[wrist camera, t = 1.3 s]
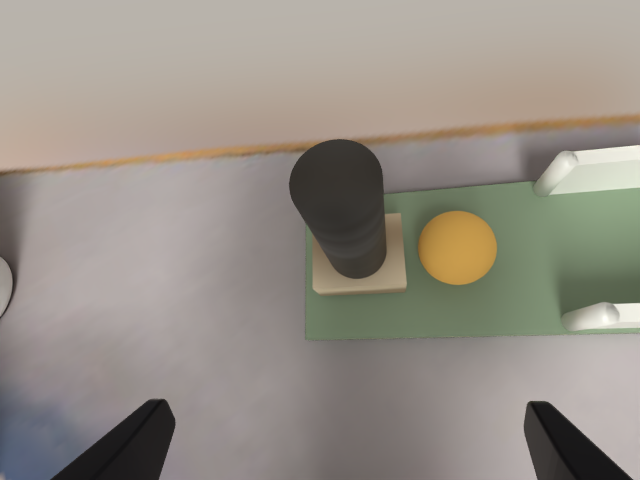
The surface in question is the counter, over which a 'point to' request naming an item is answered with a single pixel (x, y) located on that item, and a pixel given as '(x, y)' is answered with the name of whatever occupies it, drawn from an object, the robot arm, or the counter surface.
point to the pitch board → (498, 267)
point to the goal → (584, 176)
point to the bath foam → (5, 285)
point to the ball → (457, 247)
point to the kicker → (348, 220)
